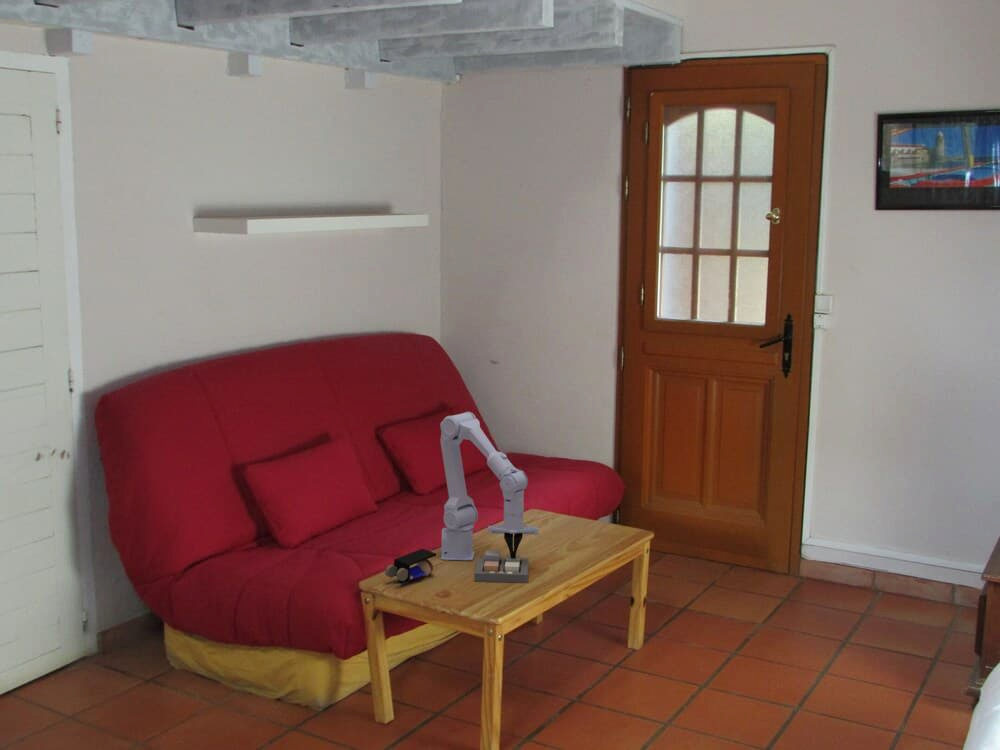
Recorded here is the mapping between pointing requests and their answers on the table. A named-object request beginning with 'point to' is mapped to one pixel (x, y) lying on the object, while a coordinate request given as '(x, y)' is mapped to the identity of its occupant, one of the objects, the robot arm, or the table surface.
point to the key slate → (492, 556)
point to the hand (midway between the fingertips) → (513, 557)
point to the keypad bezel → (502, 572)
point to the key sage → (517, 559)
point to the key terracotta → (491, 566)
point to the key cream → (511, 566)
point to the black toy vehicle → (404, 563)
